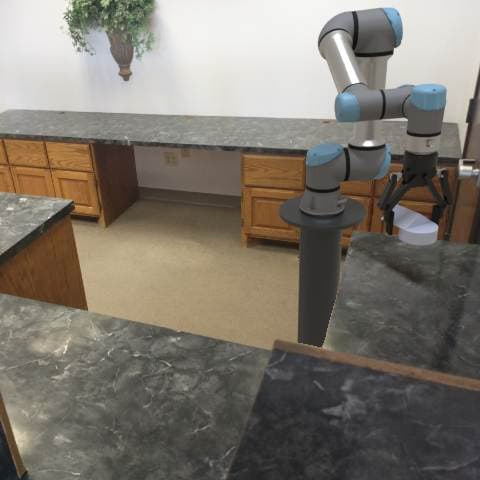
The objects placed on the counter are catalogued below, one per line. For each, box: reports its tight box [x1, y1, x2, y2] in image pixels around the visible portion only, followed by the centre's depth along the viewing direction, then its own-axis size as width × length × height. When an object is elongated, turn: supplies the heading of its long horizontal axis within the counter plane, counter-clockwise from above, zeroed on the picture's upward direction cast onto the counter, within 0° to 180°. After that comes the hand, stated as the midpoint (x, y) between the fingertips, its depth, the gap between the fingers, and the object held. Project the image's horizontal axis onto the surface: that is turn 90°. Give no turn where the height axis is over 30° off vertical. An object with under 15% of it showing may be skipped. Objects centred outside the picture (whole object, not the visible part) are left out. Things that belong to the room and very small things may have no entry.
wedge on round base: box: [380, 204, 439, 246], centre depth 133 cm, size 9×7×13 cm
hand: (411, 231), depth 134 cm, fingers closed on wedge on round base, 11 cm apart
